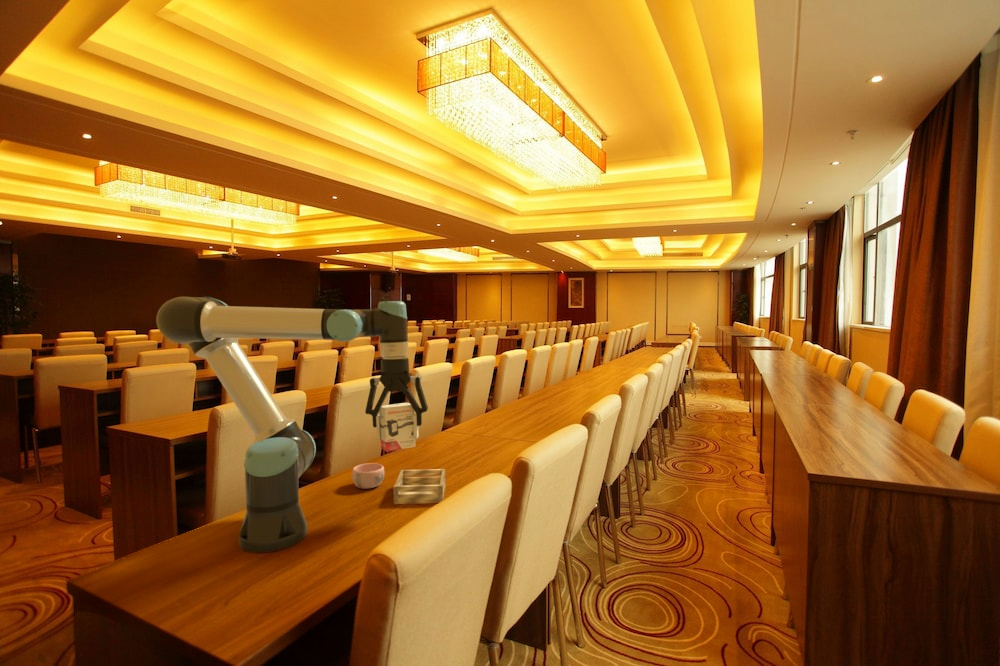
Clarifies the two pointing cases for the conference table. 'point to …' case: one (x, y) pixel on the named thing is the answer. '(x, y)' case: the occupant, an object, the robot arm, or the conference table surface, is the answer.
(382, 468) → the pink bowl
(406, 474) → the crate
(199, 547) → the conference table surface
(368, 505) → the conference table surface
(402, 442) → the ink box
